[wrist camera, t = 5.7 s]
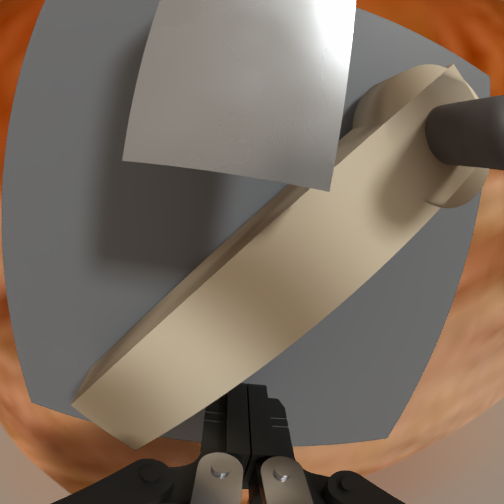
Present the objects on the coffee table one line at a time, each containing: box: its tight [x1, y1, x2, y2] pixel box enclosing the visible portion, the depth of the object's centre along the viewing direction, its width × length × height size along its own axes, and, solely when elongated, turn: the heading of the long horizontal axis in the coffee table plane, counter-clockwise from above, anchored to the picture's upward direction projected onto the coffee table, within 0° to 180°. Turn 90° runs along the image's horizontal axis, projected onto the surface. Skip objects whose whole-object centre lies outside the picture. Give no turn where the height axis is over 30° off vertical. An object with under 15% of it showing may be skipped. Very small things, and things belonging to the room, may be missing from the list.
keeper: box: [122, 0, 356, 192], centre depth 7 cm, size 4×8×4 cm, turn 170°
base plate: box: [2, 0, 490, 446], centre depth 11 cm, size 20×20×1 cm
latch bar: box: [71, 64, 504, 450], centre depth 8 cm, size 17×4×5 cm, turn 132°
